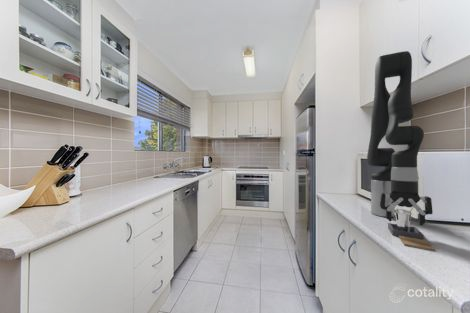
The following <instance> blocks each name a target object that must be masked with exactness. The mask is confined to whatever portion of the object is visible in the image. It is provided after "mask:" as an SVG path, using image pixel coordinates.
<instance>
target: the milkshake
mask: <svg viewBox="0 0 470 313" xmlns="http://www.w3.org/2000/svg"><path fill="white" fill-rule="evenodd" d="M413 209H414V207H410V211H409V210H407V209H405V208H404V209H403V208H395V224H397V230H400V231H406V232H409V231H410V226H411V219H412V211H413Z"/></svg>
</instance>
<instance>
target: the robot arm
mask: <svg viewBox="0 0 470 313" xmlns="http://www.w3.org/2000/svg"><path fill="white" fill-rule="evenodd" d="M412 59H413V58H412V54H411V52H410V51H407V50H404V51H400V52H399V51H398V52H393V53H387V54H383V55H380V56H379V57H378V58H377V60H376V62H375V68H374V97H373V106H372V112H371V123H370V124H371V125H370V138H369V144H368V149H367V156H366V160H367V164H368V165H369V166H370V167H384V169H382V170H380V171H378V172H374V173H372V174H371V175H370V213H371V214H372V215H375V216H379V217H383V218H384V217H385V218H386V220H388V222H392V221H393V220H392V218H394V217H396V215H395V210H396V207H397V206H398V207H406V208H412V207H413V209H415V211H416V212H417V225H419V226H423V225H425V223H426V216H427V215H433V212H434V211H433V201H432V198H431V197H429V196H427V195H425V196H420V195H419V180H420V179H419V172H418V154H419V151H420V148H421V145H422V143H423V140H424V137H425V136H424V135H425V132H424V129H423V128H422V127H421V126H419V125H402V126H401V125H399V124H403V123H404V124H405V123H407V122H409V121H411V120H412V119H414V116H415V115H414V109H413V108H414V106H413V102H412V80H413V79H412V76H413V73H412V72H413V60H412ZM395 77H399V82H398V85H397V86H396V88H395V89H394V90H393V92H392V93H391V94H390V93H389V90H388V89H387V85H386V79H388V78H389V79H390V78H395ZM384 138H385V141H386V143H387V144H388V145H390V146H405V145H406V148H404V150H399V151H396V150H395V149H394V148H393V147H379V145H380V143H381V142H382V139H384ZM420 200H421V202H422V203H424V210H423V209H422V208H421V207H420V206H419V205H418V204H417V203H419V202H420Z"/></svg>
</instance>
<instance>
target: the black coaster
mask: <svg viewBox="0 0 470 313" xmlns="http://www.w3.org/2000/svg"><path fill="white" fill-rule="evenodd" d="M387 228H388V230H389V232H390V233H391V235H392V236H395V237H399V236H404V237H410V238H416V239H422V240H425V239H424V234H423V232H421V231H420V230H419V228H418V227H417V226H411V225H410V231H409V232H406V231H400V230H397V224H396V223H392V222H391V223H390V222H388V223H387Z"/></svg>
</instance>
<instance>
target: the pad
mask: <svg viewBox="0 0 470 313" xmlns="http://www.w3.org/2000/svg"><path fill="white" fill-rule="evenodd" d="M398 239H399V240H400V241H401V243H402V244H403V246H406V247H411V248H412V247H413V248H416V249H420V250H421V249H422V250H427V251H433V252H435V251H436V249H435V247H433V245H432V244H430V242H428V240H427V239H424V240H422V239H416V238H410V237H404V236H398Z"/></svg>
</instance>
